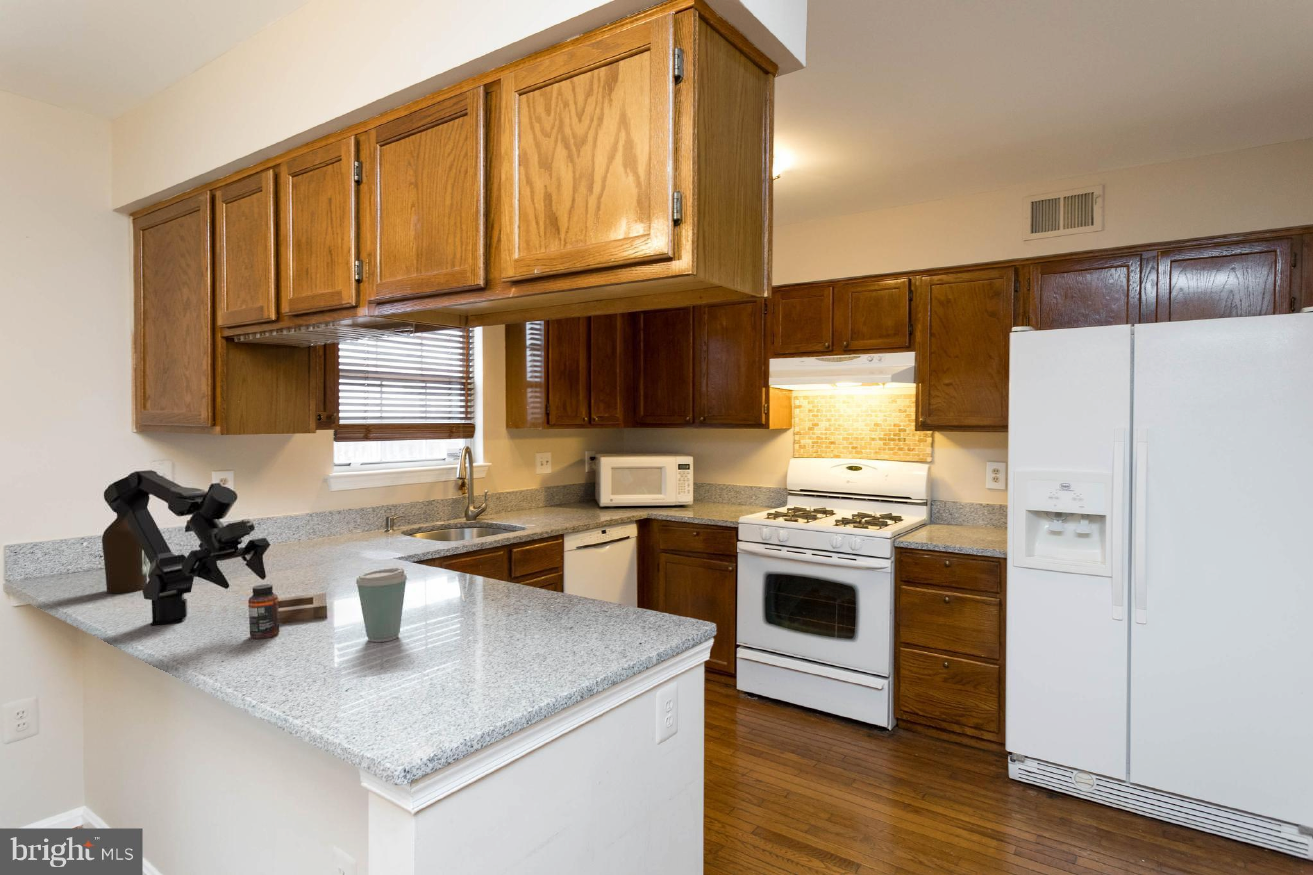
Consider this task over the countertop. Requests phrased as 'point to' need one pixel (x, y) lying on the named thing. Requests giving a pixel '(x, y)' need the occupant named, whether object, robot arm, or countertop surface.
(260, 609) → the supplement bottle
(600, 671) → the countertop surface
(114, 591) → the olive oil
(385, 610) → the disposable coffee cup
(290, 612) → the bottle holder
